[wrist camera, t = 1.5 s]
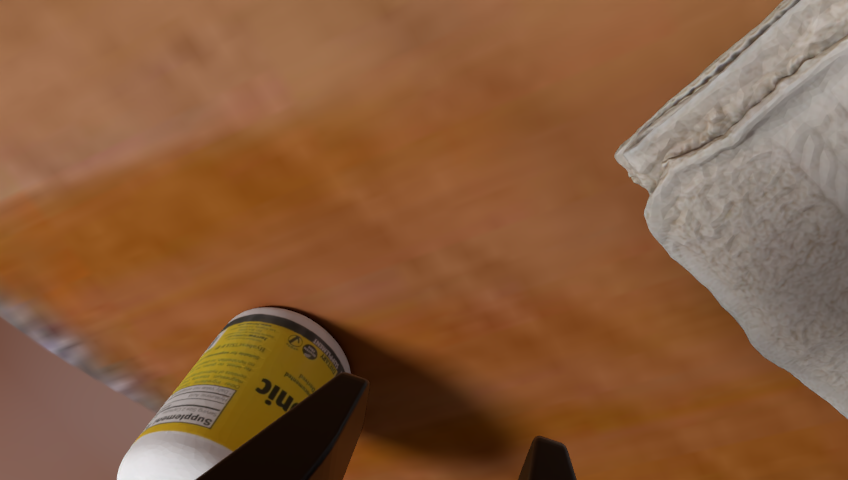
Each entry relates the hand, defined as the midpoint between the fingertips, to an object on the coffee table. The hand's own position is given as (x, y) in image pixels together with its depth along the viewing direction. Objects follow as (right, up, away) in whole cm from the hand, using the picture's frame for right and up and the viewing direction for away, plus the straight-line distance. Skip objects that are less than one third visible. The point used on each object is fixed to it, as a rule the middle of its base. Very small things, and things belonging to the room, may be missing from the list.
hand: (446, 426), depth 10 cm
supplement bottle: (-5, -2, +18) cm, 19 cm away
